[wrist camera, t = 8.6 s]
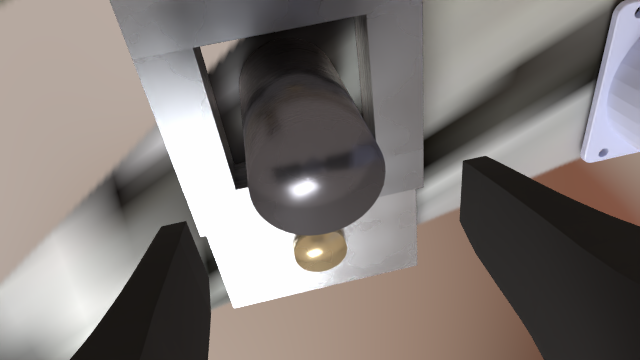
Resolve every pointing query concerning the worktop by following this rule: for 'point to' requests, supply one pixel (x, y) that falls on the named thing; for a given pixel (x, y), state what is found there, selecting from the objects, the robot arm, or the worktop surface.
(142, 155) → the worktop surface
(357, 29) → the lower end link
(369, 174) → the pin
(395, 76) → the upper end link
